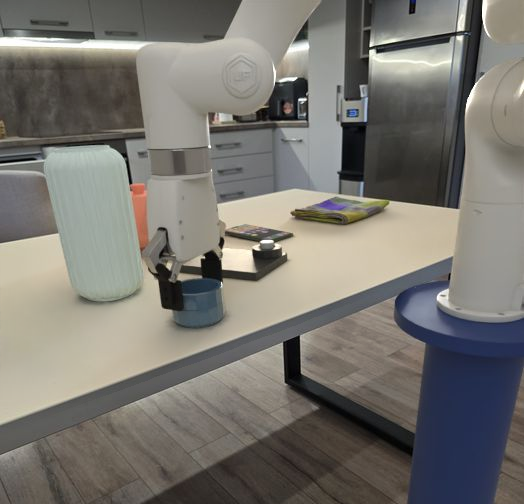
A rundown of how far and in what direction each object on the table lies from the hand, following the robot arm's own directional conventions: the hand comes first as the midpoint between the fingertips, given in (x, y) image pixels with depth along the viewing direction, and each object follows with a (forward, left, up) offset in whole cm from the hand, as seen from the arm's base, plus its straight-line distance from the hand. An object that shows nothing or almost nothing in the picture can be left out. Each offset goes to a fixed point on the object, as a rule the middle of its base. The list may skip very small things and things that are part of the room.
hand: (194, 297), depth 66 cm
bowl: (0, 0, -3) cm, 3 cm away
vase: (+20, -4, -3) cm, 20 cm away
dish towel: (+4, -75, -3) cm, 75 cm away
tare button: (+3, -28, -1) cm, 28 cm away
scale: (+8, -24, -3) cm, 26 cm away
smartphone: (+15, -47, -4) cm, 50 cm away
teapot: (+32, -30, -3) cm, 44 cm away
